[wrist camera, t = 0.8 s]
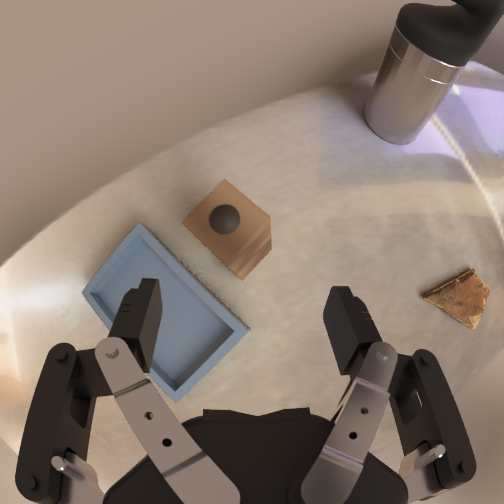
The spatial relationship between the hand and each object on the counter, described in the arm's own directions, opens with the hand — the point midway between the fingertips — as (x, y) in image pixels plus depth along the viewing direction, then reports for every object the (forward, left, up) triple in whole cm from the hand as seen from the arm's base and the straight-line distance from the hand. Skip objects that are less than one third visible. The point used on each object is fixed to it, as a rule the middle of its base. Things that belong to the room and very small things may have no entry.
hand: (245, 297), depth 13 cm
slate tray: (+9, -8, -20) cm, 23 cm away
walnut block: (-3, -6, -20) cm, 21 cm away
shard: (-17, +21, -21) cm, 34 cm away
